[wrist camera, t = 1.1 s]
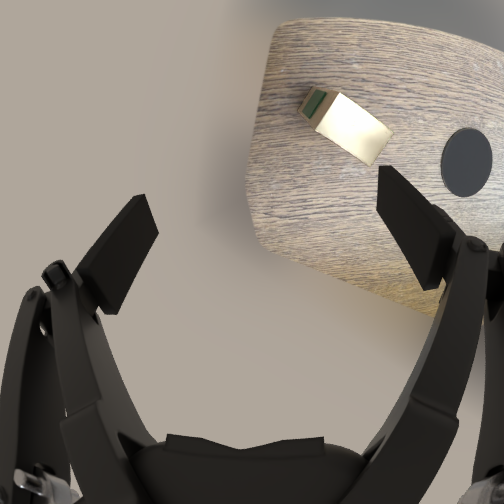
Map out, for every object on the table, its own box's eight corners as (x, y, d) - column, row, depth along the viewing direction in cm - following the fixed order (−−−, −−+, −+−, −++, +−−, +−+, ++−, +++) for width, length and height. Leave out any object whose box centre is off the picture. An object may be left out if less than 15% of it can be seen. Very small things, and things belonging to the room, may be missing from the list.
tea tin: (352, 111, 30) (394, 133, 19) (336, 134, 32) (370, 167, 22) (312, 85, 28) (338, 90, 18) (296, 110, 30) (312, 129, 20)
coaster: (483, 119, 26) (486, 120, 26) (493, 181, 32) (495, 182, 32) (433, 141, 31) (435, 142, 30) (447, 206, 36) (449, 207, 36)
